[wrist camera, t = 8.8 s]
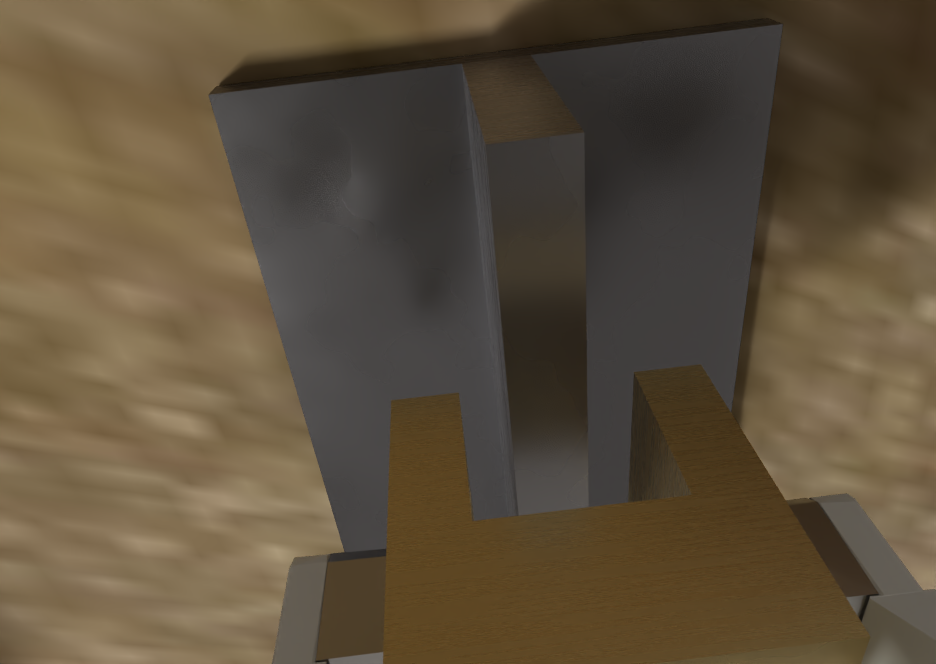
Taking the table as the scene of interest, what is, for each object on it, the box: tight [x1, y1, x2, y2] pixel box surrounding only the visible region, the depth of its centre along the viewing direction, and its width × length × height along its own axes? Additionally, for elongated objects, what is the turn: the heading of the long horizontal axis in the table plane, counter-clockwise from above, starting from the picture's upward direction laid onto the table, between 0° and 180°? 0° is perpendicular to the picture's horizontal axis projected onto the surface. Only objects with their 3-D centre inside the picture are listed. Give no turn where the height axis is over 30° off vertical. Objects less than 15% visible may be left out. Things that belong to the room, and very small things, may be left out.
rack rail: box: [209, 18, 783, 552], centre depth 17 cm, size 22×10×5 cm, turn 6°
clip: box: [383, 364, 870, 664], centre depth 10 cm, size 4×5×4 cm
